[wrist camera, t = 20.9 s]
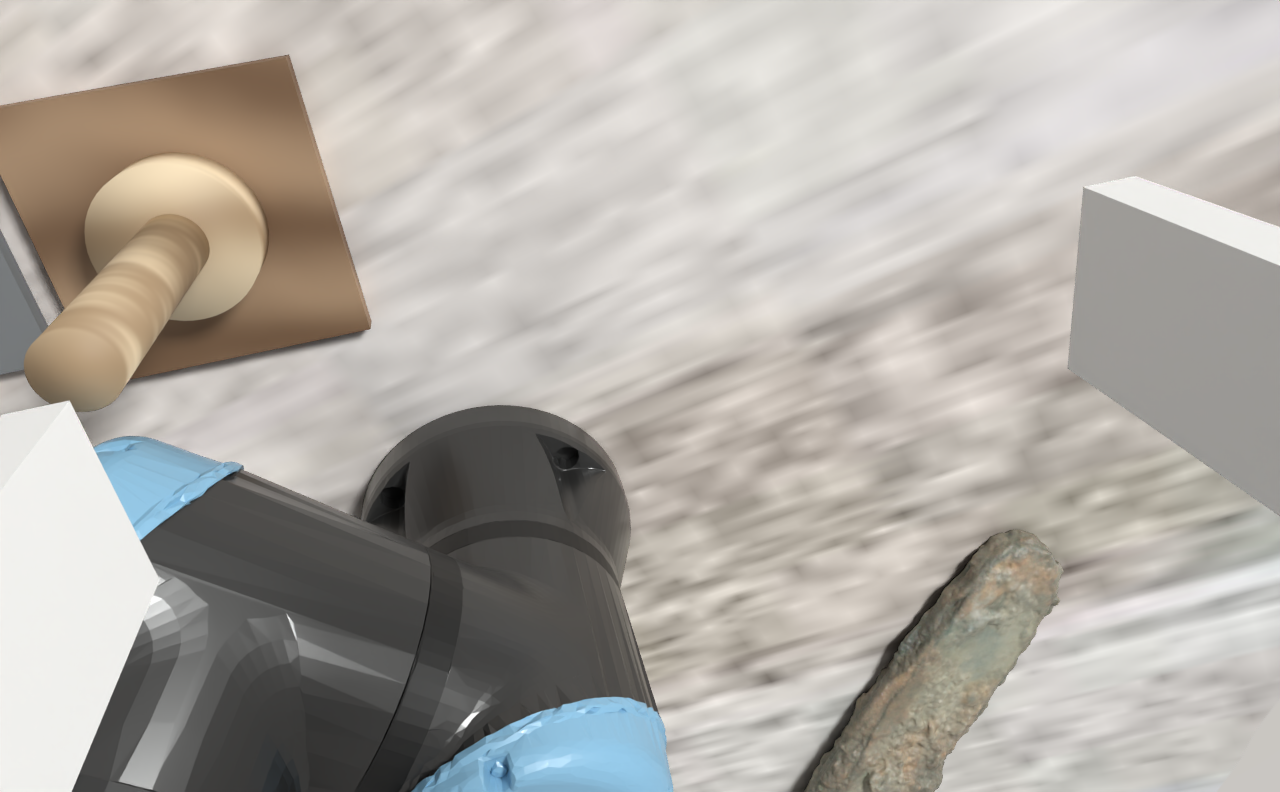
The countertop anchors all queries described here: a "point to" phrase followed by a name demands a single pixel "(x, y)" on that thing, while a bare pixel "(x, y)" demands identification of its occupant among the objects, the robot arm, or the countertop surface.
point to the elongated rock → (944, 671)
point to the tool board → (221, 131)
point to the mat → (16, 313)
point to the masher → (149, 272)
